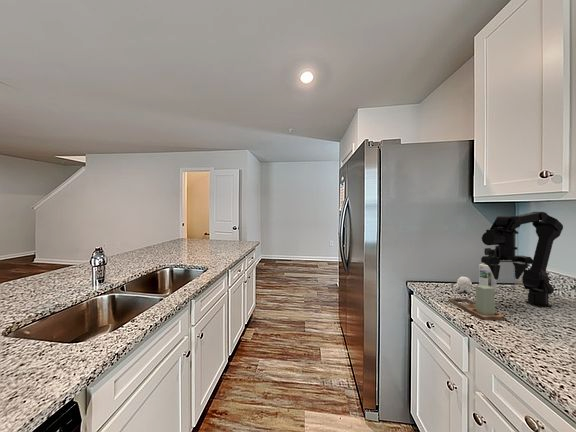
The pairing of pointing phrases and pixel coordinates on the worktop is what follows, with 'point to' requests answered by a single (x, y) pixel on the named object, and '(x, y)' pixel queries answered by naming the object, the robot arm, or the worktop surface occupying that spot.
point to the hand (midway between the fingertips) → (506, 279)
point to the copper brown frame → (472, 309)
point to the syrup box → (486, 276)
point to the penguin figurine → (464, 284)
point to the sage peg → (485, 300)
